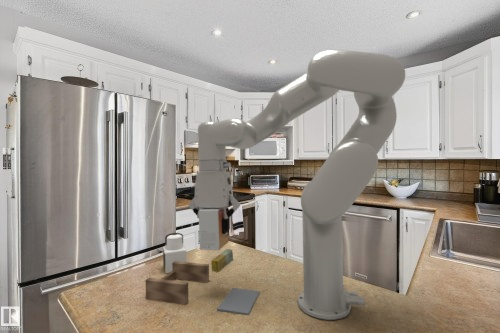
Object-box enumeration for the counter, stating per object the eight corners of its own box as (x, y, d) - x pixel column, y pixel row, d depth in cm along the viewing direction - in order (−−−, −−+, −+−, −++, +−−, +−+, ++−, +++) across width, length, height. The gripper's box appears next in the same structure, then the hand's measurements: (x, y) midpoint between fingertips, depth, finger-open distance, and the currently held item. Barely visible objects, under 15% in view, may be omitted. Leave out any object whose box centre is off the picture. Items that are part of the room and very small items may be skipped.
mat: (259, 292, 69) (259, 291, 69) (248, 315, 58) (248, 313, 58) (232, 289, 71) (232, 287, 71) (217, 310, 61) (217, 308, 61)
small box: (219, 251, 64) (218, 210, 64) (199, 250, 66) (198, 210, 66) (229, 242, 72) (228, 205, 72) (211, 241, 73) (210, 205, 74)
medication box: (227, 259, 96) (226, 248, 96) (233, 259, 95) (233, 249, 95) (211, 271, 84) (211, 260, 84) (218, 272, 83) (218, 260, 84)
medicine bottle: (163, 266, 89) (162, 233, 89) (183, 263, 92) (183, 230, 92) (164, 274, 83) (164, 237, 83) (186, 270, 85) (186, 235, 85)
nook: (209, 280, 77) (208, 264, 77) (185, 304, 64) (185, 284, 64) (175, 276, 80) (174, 261, 80) (145, 298, 67) (145, 280, 67)
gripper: (246, 166, 70) (248, 230, 70) (191, 168, 75) (193, 228, 75) (237, 166, 63) (239, 237, 63) (177, 168, 68) (179, 234, 68)
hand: (214, 231), depth 69 cm, fingers closed on small box, 5 cm apart
